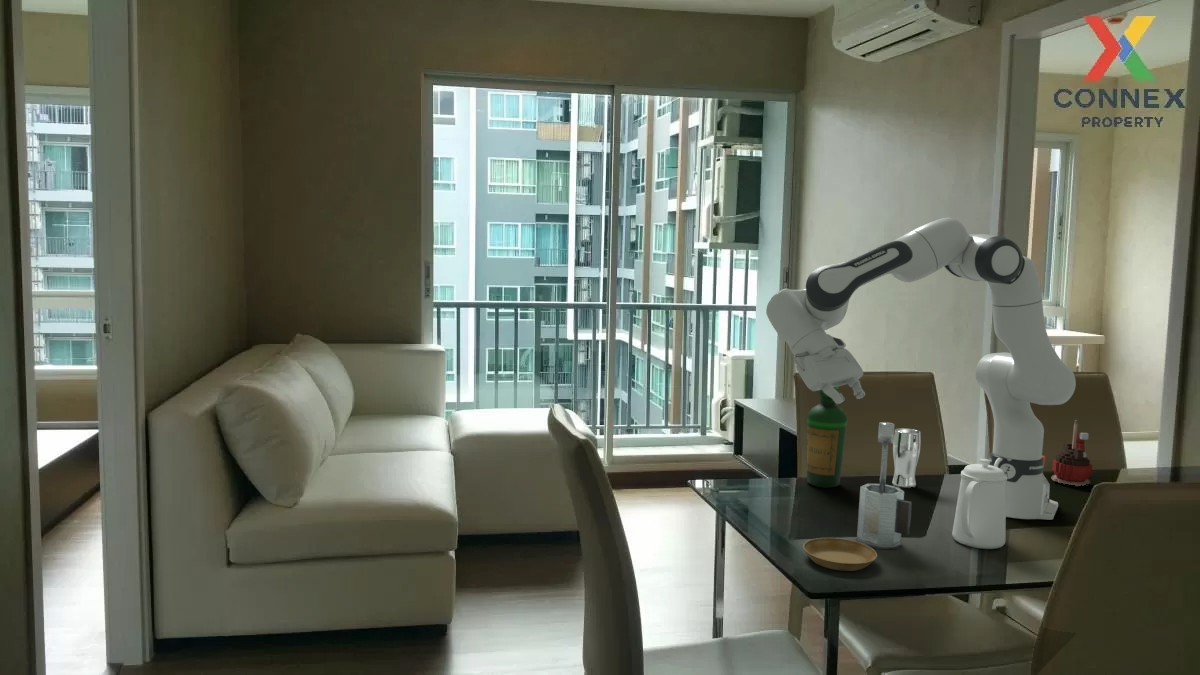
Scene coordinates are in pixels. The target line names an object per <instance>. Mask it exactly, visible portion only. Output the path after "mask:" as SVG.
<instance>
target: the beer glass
mask: <svg viewBox="0 0 1200 675" xmlns="http://www.w3.org/2000/svg"><path fill="white" fill-rule="evenodd" d="M920 453H921V431H920V430H917V429H915V428H913V429H912V428H905V427H904V428H903V427H902V428H899V427H898V428H896V429H895V428H894V440H893V443H892V455H893V462H894V463H893V464H894V465H893V466H894V473H893V478H892V482H891V483H892V486H895V487H899V488H904V489H905V488H906V489H910V488H911V487H913V488H915V487H916V485H917V483H916V469H917V464H918V460H919V457H920ZM911 489H912V488H911Z"/></svg>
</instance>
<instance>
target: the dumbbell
mask: <svg viewBox="0 0 1200 675" xmlns="http://www.w3.org/2000/svg"><path fill="white" fill-rule="evenodd" d="M877 433H878V434H877V442H878V443H881V445H882V446H881V459H880V460H881V461H880V472H879V474H880V475H879V484H880V486H879V493H885V484H886V482H887V481H886V480H887V470H888V469H887V468H888V453H889V452H888V451H889V445H890V444H893V441H894V435H895V423H893V422H887V421H882V422H879V423H878V432H877Z"/></svg>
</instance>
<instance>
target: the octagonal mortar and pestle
mask: <svg viewBox="0 0 1200 675" xmlns="http://www.w3.org/2000/svg"><path fill="white" fill-rule="evenodd" d="M879 486H880V483H866V484H864V485H860V489H859V503H858V517H857V520H858V521H857V530H856V531H857V532H856V533H857V534H856V542H857V541H858V542H859V543H862V544H865V545H867V546H869V547H871V548H872V549H874V550H875V549H876V550H881V551H889V550H890V551H893V550H896V549H899V548H901V543H902V535H904V536H907V535H910V534H911V532H910V531H911V519H912V505H913V503H912V501H909V500H905V498H904V497H905V491H904V490H903V489H901V487H898V486H895V485H889V484H886V483H885V493H879Z"/></svg>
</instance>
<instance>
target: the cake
mask: <svg viewBox="0 0 1200 675" xmlns="http://www.w3.org/2000/svg"><path fill="white" fill-rule="evenodd" d="M1078 424H1079V420H1077V419H1074V424H1073V433H1072V442H1064V444H1063V451H1061V452H1059V453H1058V454H1056V456H1055V459H1053V460H1052V468H1051V470H1052V471H1053V473H1054V474H1053V475H1051V477H1050V478H1051V480H1052V481H1053V482H1057V483H1059V484H1061V483H1063V484H1062V485H1065V484H1069V485H1075V486H1074V487H1079V486H1080V487H1082V486H1084V485H1086V484H1089V483H1090V484H1091V480H1089V477H1092V475H1093V465H1092V464H1091V463H1090V459H1089V458H1088V456H1087V452H1086V451H1085V449H1086V447H1085V441H1088V440H1089V436H1090V435H1089V433H1088V432H1079V433H1078V427H1079V426H1078ZM1069 485H1068V486H1069ZM1081 485H1082V486H1081ZM1086 486H1087V485H1086Z"/></svg>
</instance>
